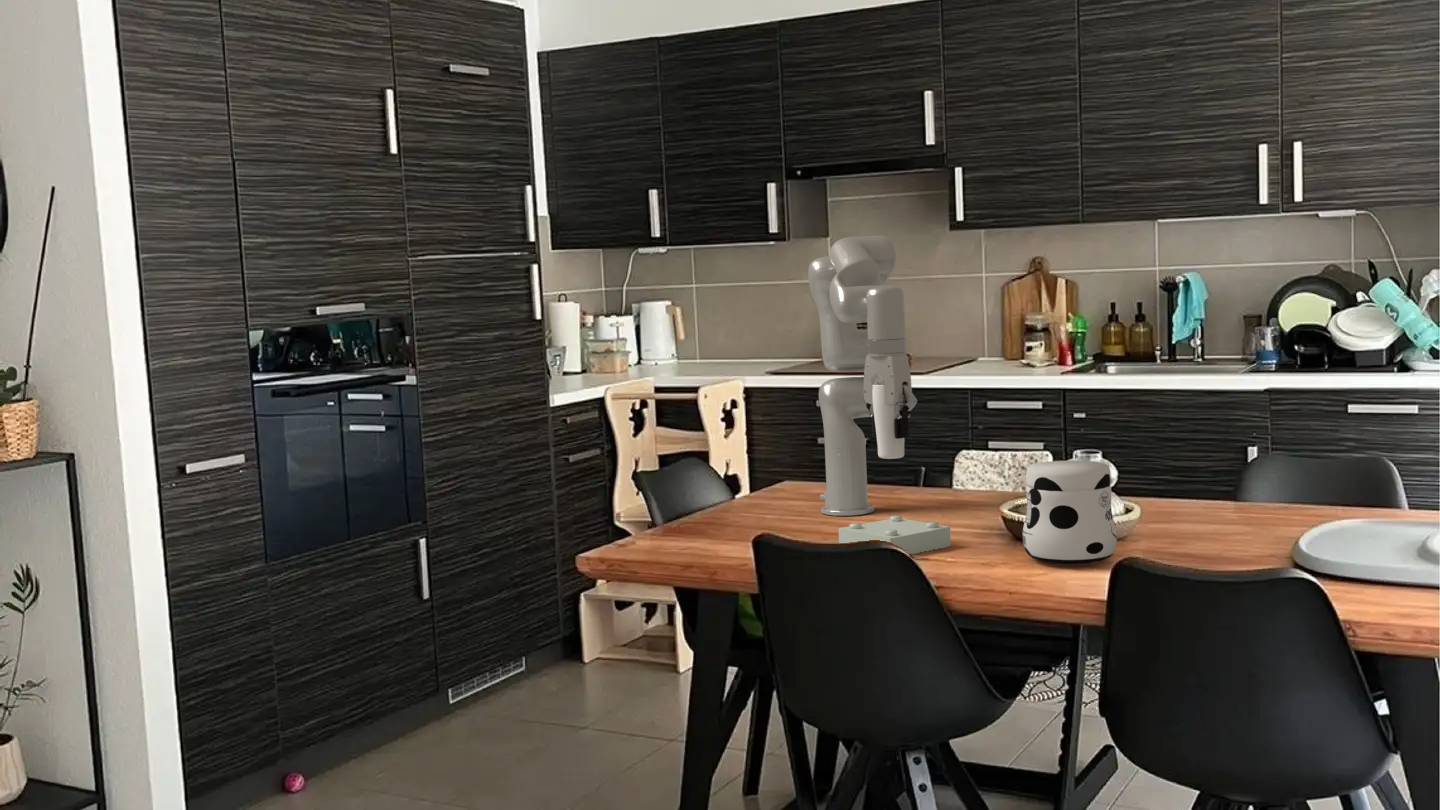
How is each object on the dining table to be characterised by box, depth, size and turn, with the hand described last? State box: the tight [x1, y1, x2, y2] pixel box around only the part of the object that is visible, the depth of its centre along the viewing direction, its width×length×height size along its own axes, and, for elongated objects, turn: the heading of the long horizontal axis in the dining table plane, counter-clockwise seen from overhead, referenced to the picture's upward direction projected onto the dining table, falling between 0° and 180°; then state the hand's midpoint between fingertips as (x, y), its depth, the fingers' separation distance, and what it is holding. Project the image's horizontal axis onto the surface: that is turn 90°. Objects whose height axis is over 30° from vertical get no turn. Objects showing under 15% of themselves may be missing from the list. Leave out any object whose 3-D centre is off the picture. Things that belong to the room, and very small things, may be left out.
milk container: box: [1022, 460, 1118, 565], centre depth 262 cm, size 17×17×18 cm
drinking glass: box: [872, 385, 906, 460], centre depth 280 cm, size 7×7×15 cm
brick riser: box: [838, 515, 952, 555], centre depth 282 cm, size 16×16×5 cm
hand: (890, 435), depth 281 cm, fingers closed on drinking glass, 6 cm apart
